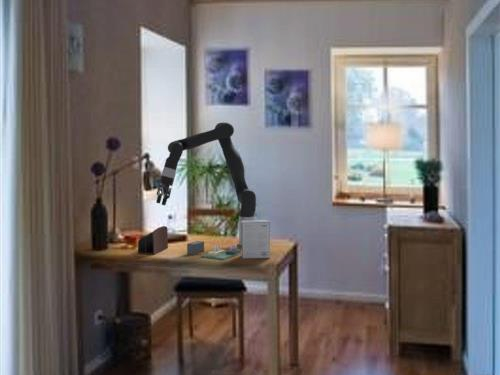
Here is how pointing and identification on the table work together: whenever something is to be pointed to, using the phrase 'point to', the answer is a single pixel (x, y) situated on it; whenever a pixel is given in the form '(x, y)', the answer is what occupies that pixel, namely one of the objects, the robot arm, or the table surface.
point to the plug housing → (195, 247)
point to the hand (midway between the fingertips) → (160, 204)
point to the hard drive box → (255, 238)
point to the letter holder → (154, 242)
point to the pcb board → (223, 253)
